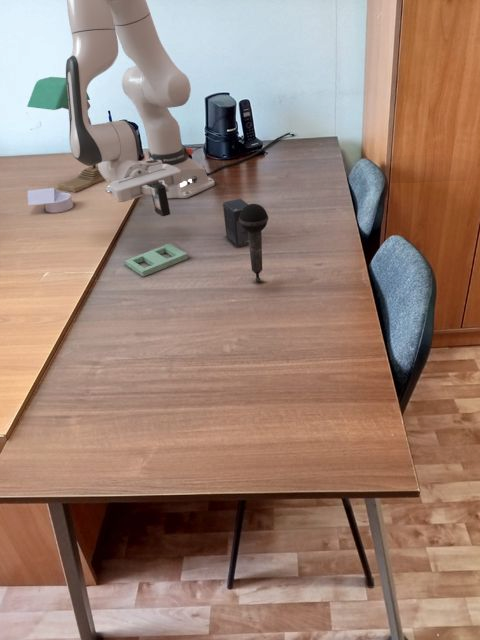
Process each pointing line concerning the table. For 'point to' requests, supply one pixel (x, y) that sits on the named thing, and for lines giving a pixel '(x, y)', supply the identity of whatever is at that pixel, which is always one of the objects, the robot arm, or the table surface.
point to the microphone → (254, 233)
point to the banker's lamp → (54, 97)
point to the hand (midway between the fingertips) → (161, 190)
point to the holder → (156, 259)
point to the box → (235, 222)
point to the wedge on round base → (50, 199)
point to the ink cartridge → (160, 200)
